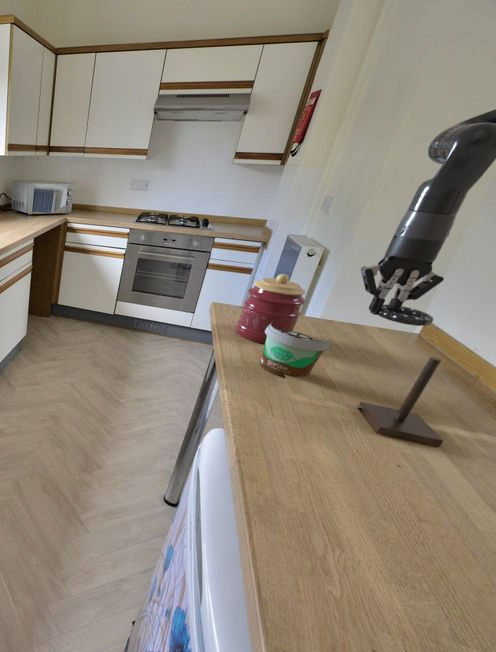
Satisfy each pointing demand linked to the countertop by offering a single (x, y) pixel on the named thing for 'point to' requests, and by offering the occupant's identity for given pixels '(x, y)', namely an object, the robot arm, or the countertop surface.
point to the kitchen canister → (270, 307)
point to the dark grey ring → (406, 316)
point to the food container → (291, 352)
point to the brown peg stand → (405, 414)
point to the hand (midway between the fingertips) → (380, 314)
